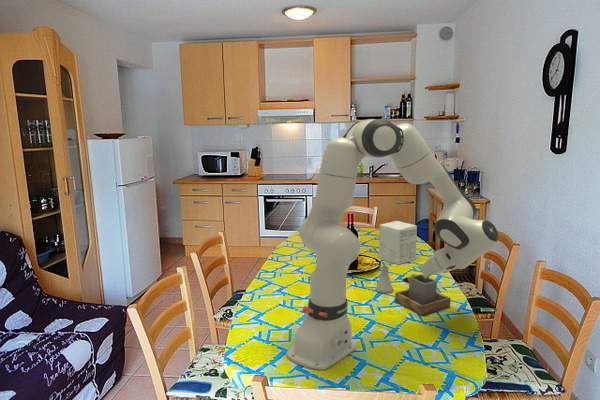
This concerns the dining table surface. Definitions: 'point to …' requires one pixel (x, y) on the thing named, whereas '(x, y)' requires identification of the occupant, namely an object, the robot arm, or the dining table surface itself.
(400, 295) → the tray
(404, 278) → the bread roll
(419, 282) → the small crate
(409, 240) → the supplement box
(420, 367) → the dining table surface
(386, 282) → the flask
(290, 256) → the dining table surface
